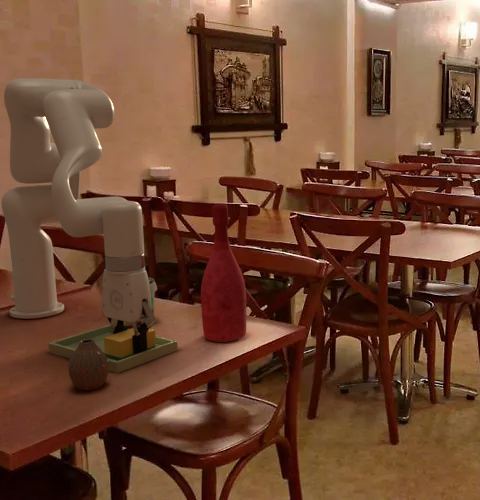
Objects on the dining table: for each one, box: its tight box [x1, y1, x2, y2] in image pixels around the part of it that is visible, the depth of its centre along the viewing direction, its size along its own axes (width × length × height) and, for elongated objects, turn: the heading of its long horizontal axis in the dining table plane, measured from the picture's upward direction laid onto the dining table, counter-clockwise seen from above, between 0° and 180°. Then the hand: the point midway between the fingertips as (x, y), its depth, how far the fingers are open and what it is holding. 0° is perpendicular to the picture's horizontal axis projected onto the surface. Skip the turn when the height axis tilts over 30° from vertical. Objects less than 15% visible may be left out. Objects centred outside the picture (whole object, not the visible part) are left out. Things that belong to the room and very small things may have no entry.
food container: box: [124, 276, 158, 329], centre depth 166 cm, size 12×6×10 cm, turn 168°
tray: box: [48, 323, 179, 374], centre depth 148 cm, size 22×16×2 cm
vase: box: [68, 339, 110, 391], centre depth 128 cm, size 7×7×9 cm
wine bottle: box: [200, 203, 247, 343], centre depth 155 cm, size 10×10×30 cm
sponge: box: [104, 326, 156, 361], centre depth 144 cm, size 5×9×4 cm, turn 148°
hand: (130, 348), depth 144 cm, fingers closed on sponge, 5 cm apart
